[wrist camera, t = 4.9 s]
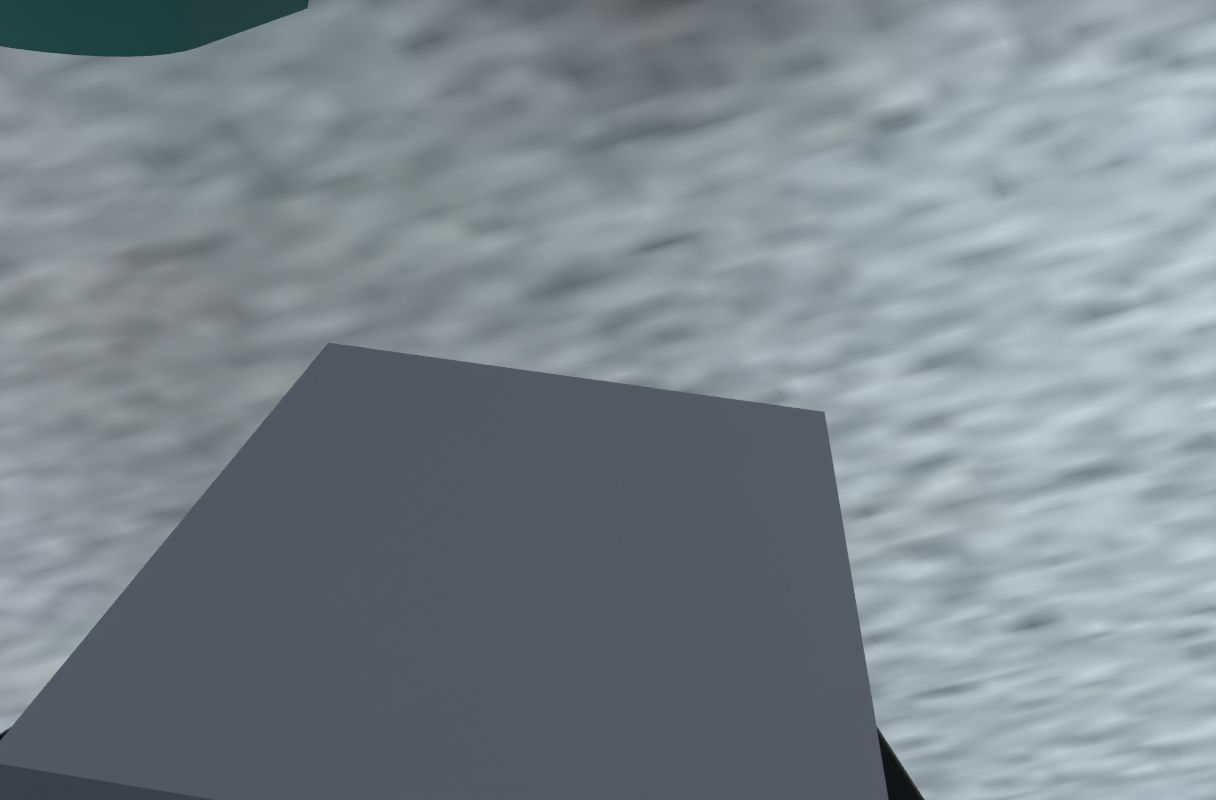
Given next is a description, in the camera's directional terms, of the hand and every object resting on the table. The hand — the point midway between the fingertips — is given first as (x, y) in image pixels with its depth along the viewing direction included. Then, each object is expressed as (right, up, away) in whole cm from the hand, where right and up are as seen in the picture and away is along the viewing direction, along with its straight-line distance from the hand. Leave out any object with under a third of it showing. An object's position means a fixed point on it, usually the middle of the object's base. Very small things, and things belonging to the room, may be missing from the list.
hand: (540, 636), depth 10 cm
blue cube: (0, +1, +1) cm, 1 cm away
